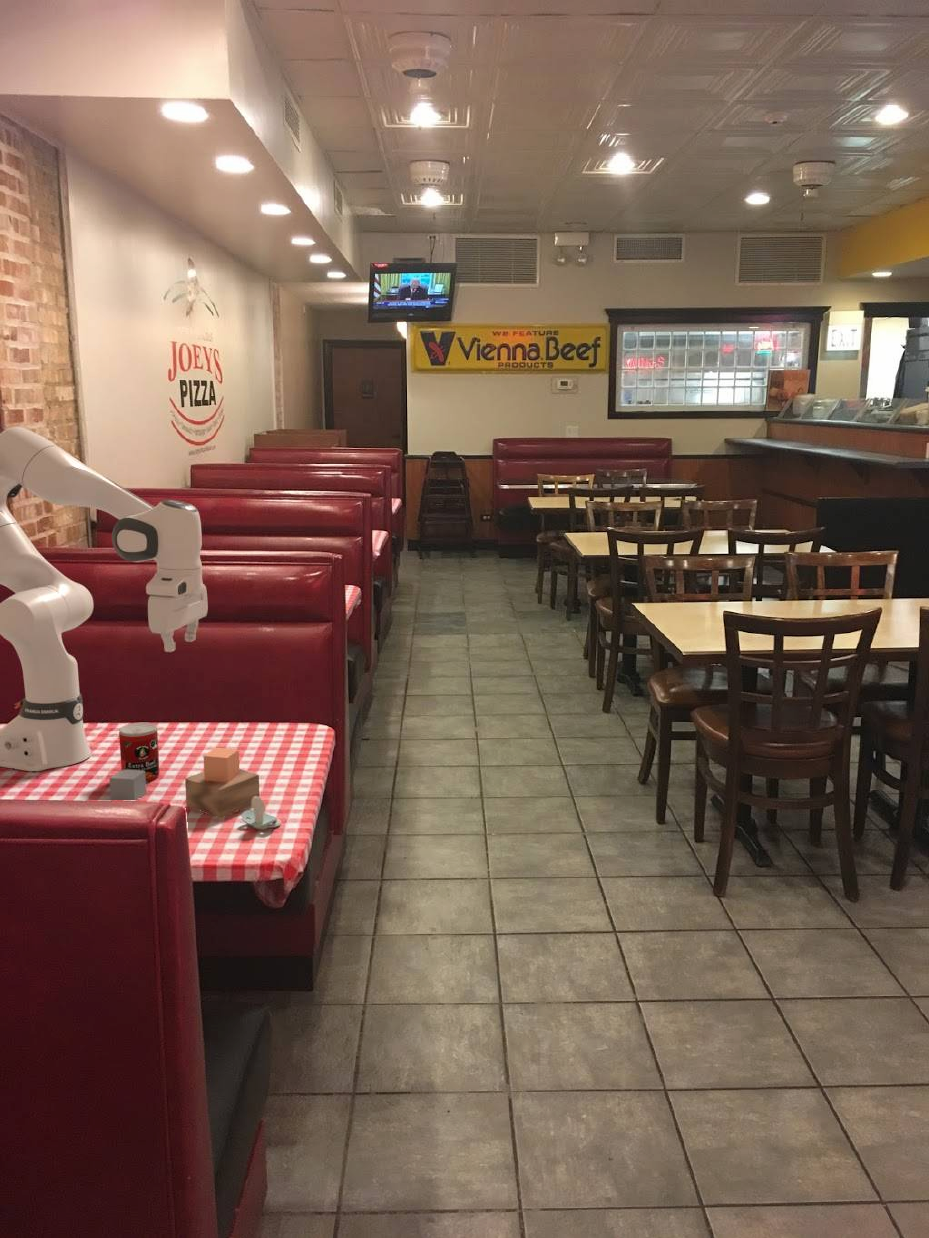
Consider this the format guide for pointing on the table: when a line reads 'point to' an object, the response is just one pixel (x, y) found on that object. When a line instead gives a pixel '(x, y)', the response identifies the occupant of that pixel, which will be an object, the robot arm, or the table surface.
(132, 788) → the gray metal cube
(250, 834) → the table surface
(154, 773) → the canned food
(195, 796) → the walnut block
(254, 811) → the pacifier
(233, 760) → the terracotta cube
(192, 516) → the robot arm
